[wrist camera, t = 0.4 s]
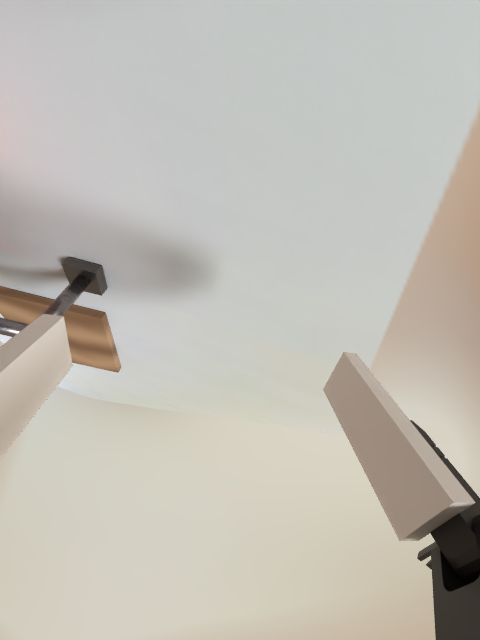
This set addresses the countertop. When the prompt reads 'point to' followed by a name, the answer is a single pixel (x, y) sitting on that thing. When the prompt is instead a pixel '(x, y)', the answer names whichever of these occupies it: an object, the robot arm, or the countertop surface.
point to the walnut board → (68, 327)
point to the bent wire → (66, 291)
